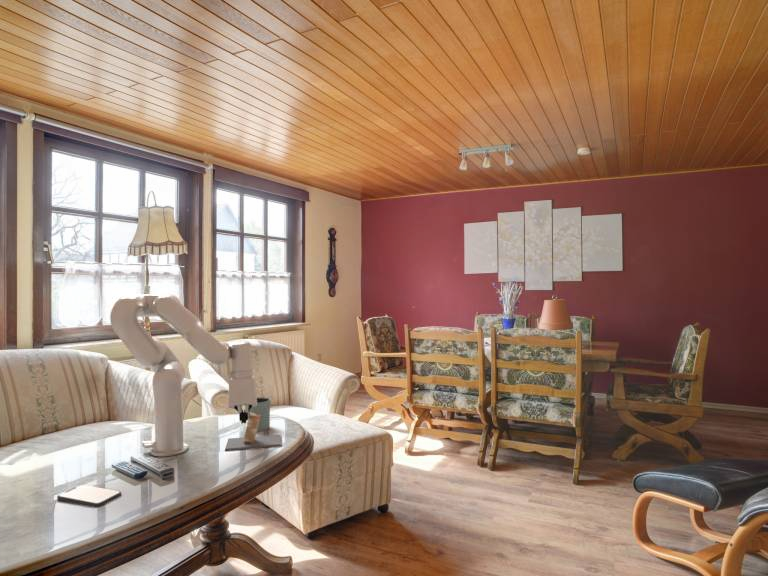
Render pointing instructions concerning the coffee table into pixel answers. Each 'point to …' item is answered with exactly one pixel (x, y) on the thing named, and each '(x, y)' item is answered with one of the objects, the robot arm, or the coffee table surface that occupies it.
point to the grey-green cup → (262, 412)
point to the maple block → (251, 427)
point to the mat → (258, 442)
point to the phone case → (88, 495)
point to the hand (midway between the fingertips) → (243, 422)
